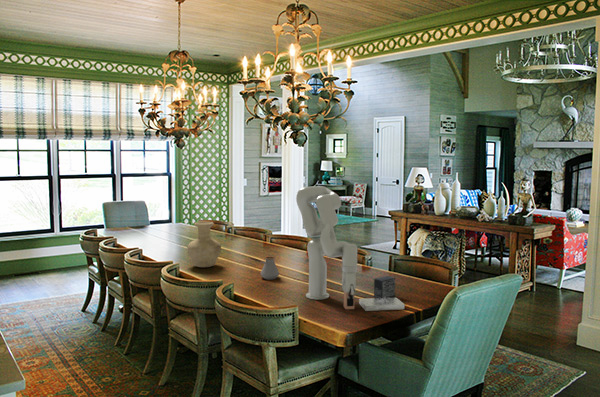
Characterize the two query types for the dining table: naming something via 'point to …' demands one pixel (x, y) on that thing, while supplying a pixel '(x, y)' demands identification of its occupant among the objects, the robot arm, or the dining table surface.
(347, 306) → the square peg
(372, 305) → the white rectangular slab
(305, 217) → the robot arm
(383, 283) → the small box
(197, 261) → the vase
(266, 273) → the coffee pot
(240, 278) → the dining table surface
